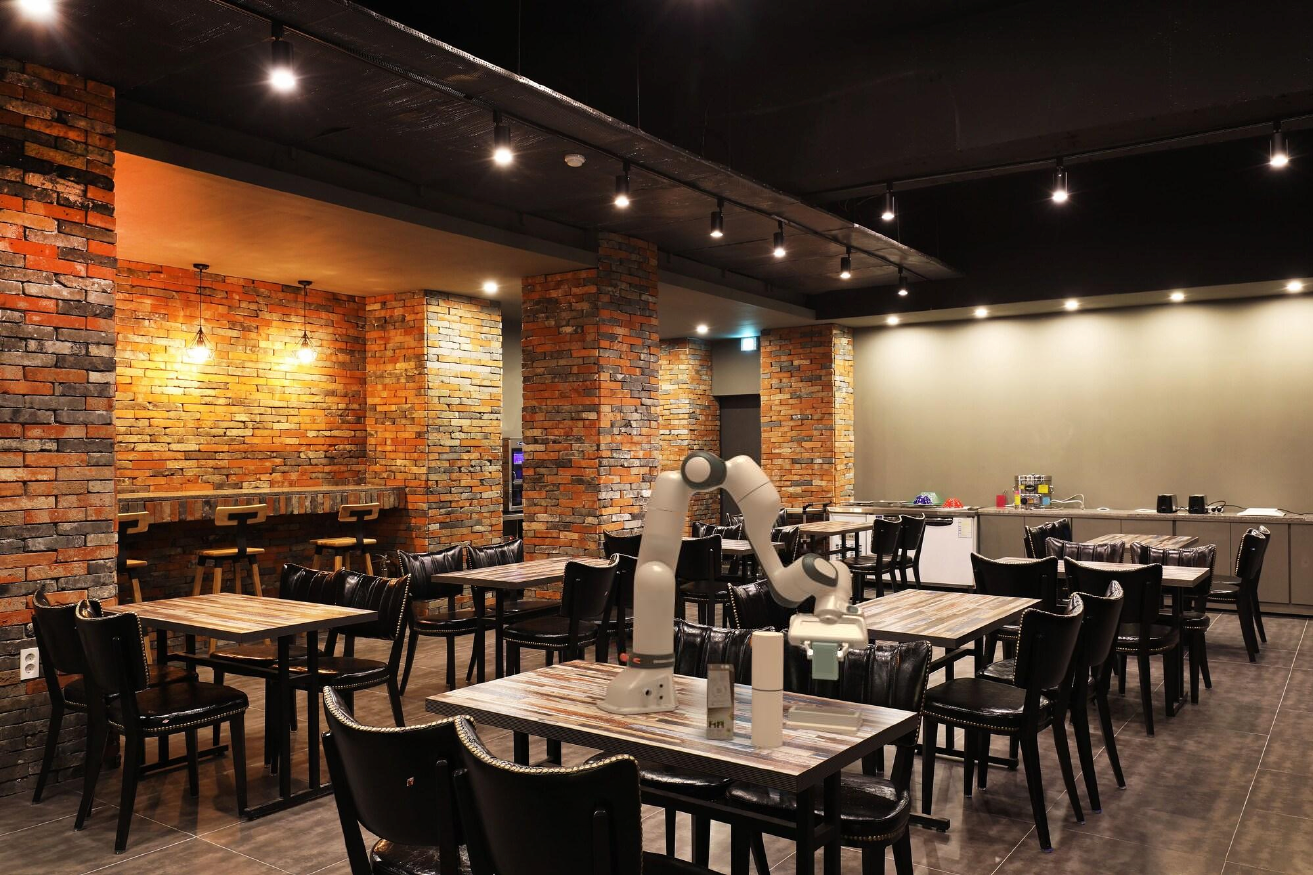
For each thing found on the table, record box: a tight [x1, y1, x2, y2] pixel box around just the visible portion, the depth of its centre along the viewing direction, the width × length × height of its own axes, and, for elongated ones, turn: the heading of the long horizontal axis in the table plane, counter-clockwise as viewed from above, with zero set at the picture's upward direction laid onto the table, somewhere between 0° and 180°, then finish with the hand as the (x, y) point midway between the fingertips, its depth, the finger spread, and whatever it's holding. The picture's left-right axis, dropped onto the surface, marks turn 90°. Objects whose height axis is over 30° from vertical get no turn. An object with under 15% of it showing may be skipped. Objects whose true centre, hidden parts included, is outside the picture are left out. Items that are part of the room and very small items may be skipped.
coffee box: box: [706, 663, 735, 741], centre depth 225 cm, size 9×6×16 cm
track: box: [785, 704, 863, 735], centre depth 236 cm, size 13×17×4 cm
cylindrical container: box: [750, 631, 784, 749], centre depth 217 cm, size 7×7×25 cm
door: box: [811, 642, 839, 681], centre depth 237 cm, size 3×6×8 cm, turn 71°
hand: (824, 658), depth 237 cm, fingers closed on door, 6 cm apart
